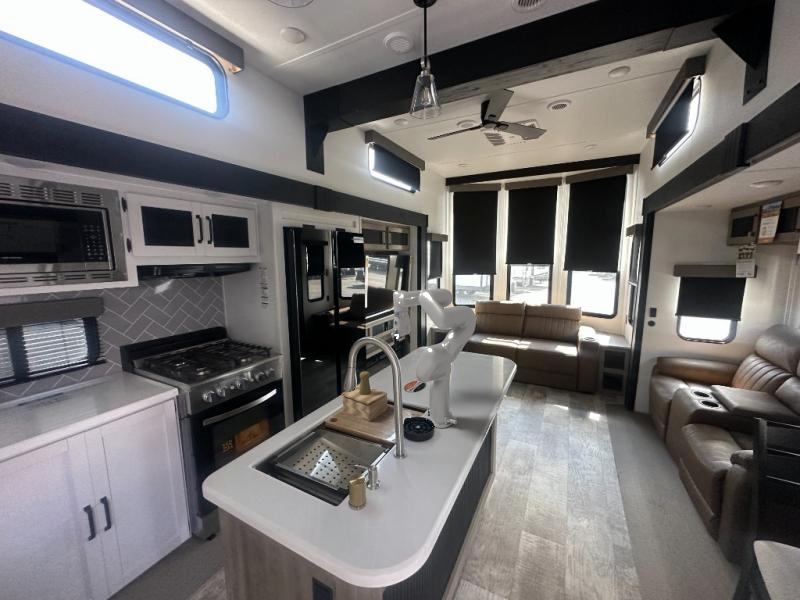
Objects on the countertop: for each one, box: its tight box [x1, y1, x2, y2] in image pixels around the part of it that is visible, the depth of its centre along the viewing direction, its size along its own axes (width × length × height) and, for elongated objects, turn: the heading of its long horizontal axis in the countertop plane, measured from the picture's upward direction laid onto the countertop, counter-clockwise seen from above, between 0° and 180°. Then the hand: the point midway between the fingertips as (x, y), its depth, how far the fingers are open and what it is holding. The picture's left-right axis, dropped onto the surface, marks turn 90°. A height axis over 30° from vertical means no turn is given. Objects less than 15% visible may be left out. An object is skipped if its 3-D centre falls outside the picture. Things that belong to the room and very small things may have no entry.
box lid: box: [341, 384, 388, 405], centre depth 158 cm, size 18×14×1 cm
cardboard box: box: [342, 394, 389, 422], centre depth 159 cm, size 18×14×8 cm
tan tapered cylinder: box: [359, 370, 371, 395], centre depth 158 cm, size 6×6×11 cm
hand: (402, 345), depth 167 cm, fingers open, 9 cm apart
